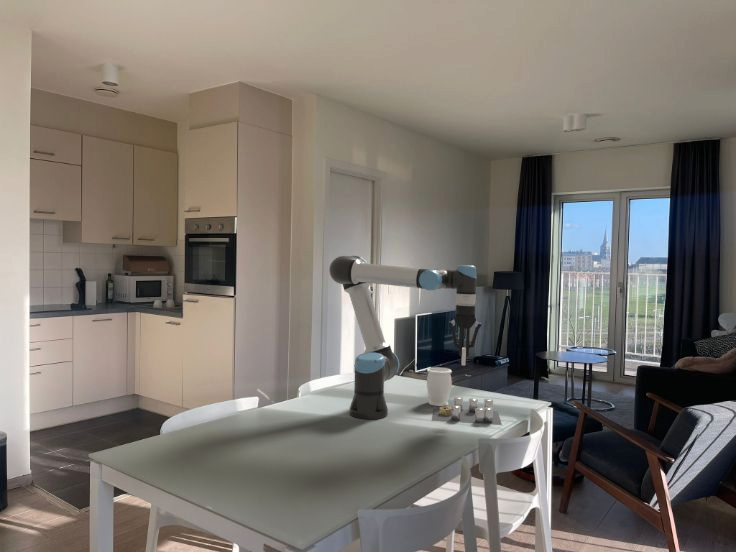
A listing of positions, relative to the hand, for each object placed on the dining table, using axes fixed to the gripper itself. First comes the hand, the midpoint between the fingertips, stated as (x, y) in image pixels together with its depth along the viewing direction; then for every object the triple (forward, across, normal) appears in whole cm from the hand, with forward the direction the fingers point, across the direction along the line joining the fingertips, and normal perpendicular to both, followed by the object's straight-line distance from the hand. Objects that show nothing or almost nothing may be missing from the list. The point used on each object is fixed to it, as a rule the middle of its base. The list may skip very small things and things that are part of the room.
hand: (463, 364), depth 224 cm
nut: (+20, -6, 0) cm, 21 cm away
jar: (+21, -9, +16) cm, 28 cm away
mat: (+21, +2, 0) cm, 21 cm away
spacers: (+20, +4, 0) cm, 20 cm away
